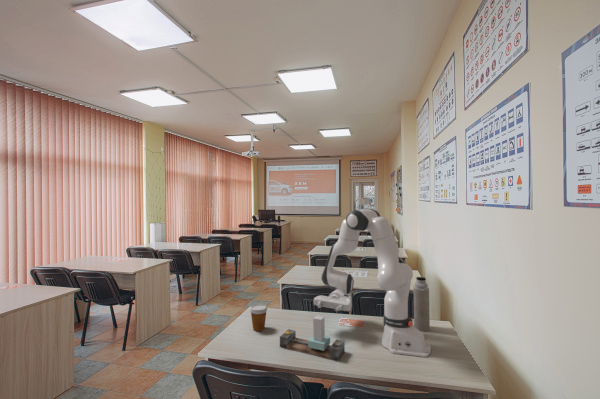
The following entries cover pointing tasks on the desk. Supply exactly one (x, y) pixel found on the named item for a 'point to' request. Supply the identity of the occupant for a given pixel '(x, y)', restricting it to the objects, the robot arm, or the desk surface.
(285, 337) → the rail
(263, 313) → the disposable coffee cup
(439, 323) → the desk surface
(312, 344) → the block
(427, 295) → the thermos bottle
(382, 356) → the desk surface
